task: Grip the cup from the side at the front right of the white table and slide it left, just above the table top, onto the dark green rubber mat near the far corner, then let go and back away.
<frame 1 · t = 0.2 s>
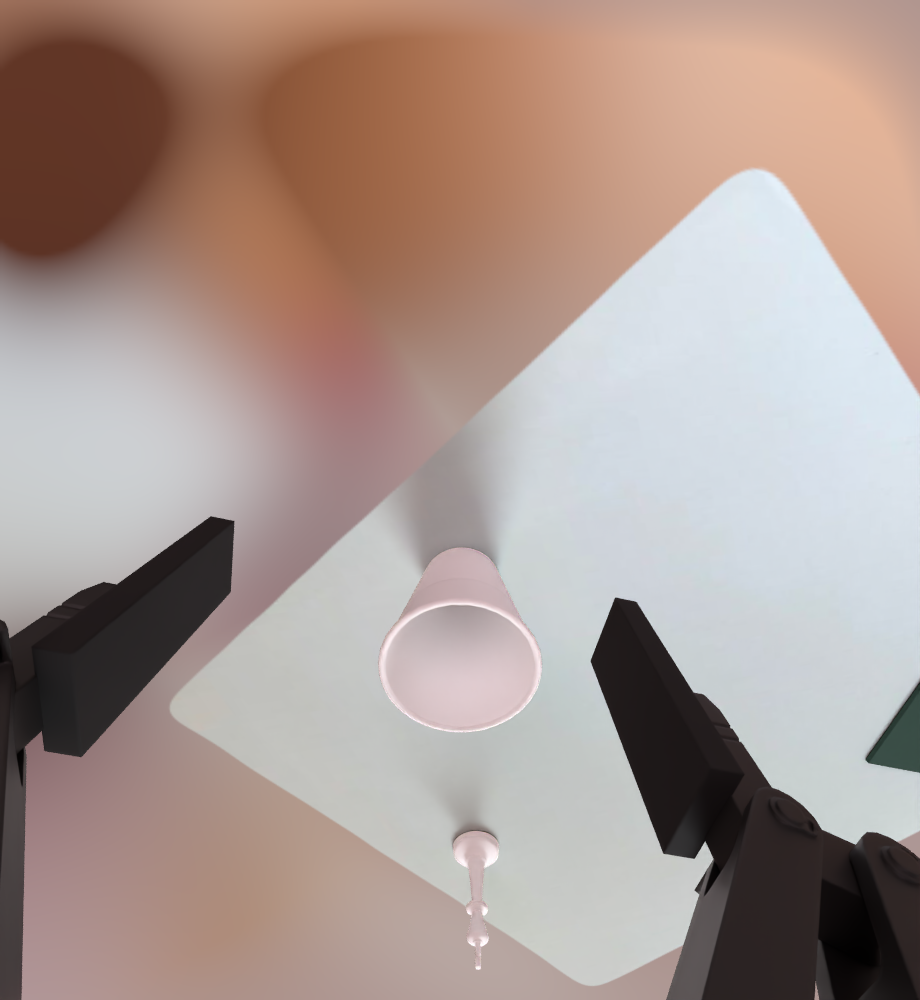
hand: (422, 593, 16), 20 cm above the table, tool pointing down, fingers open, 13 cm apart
cup: (461, 577, 38), on the table
chess piece: (476, 844, 49), on the table
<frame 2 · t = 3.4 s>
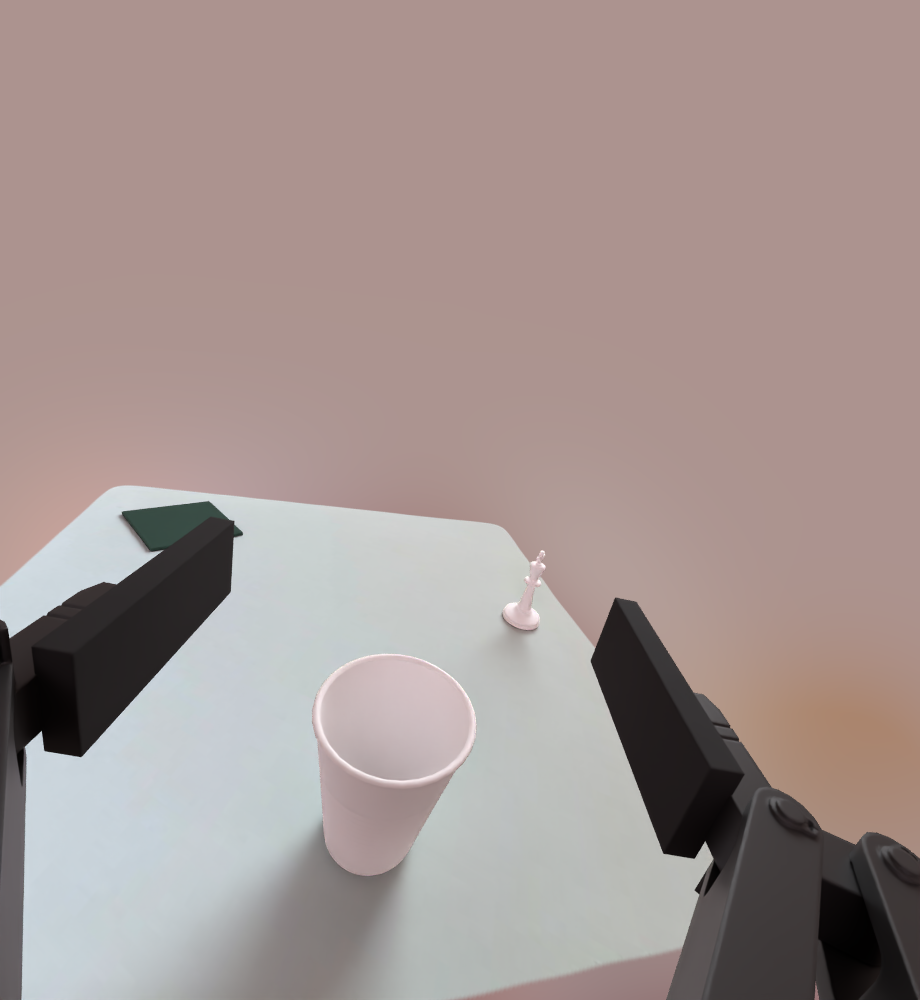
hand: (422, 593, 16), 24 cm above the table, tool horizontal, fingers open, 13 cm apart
cup: (368, 831, 32), on the table
chess piece: (520, 619, 60), on the table
mat: (183, 524, 62), on the table
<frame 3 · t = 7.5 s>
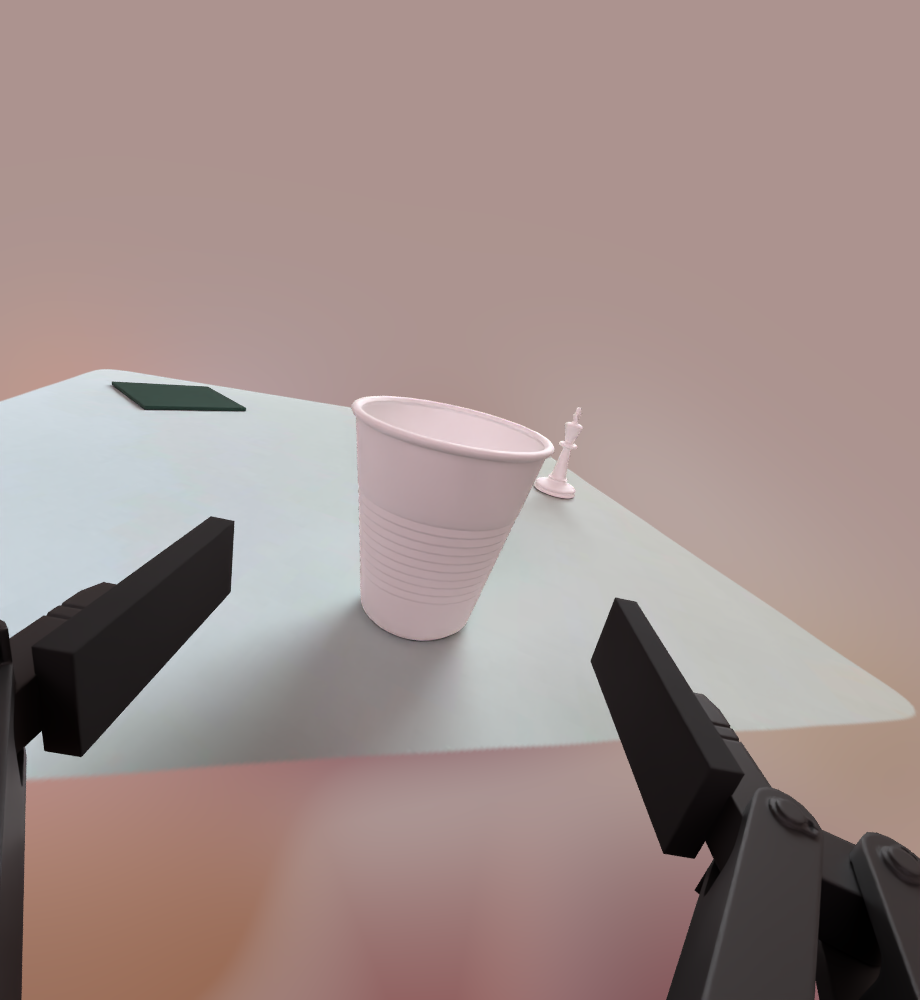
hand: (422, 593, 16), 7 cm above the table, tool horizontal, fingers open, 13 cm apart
cup: (414, 612, 26), on the table
chess piece: (553, 491, 55), on the table
mat: (180, 398, 57), on the table
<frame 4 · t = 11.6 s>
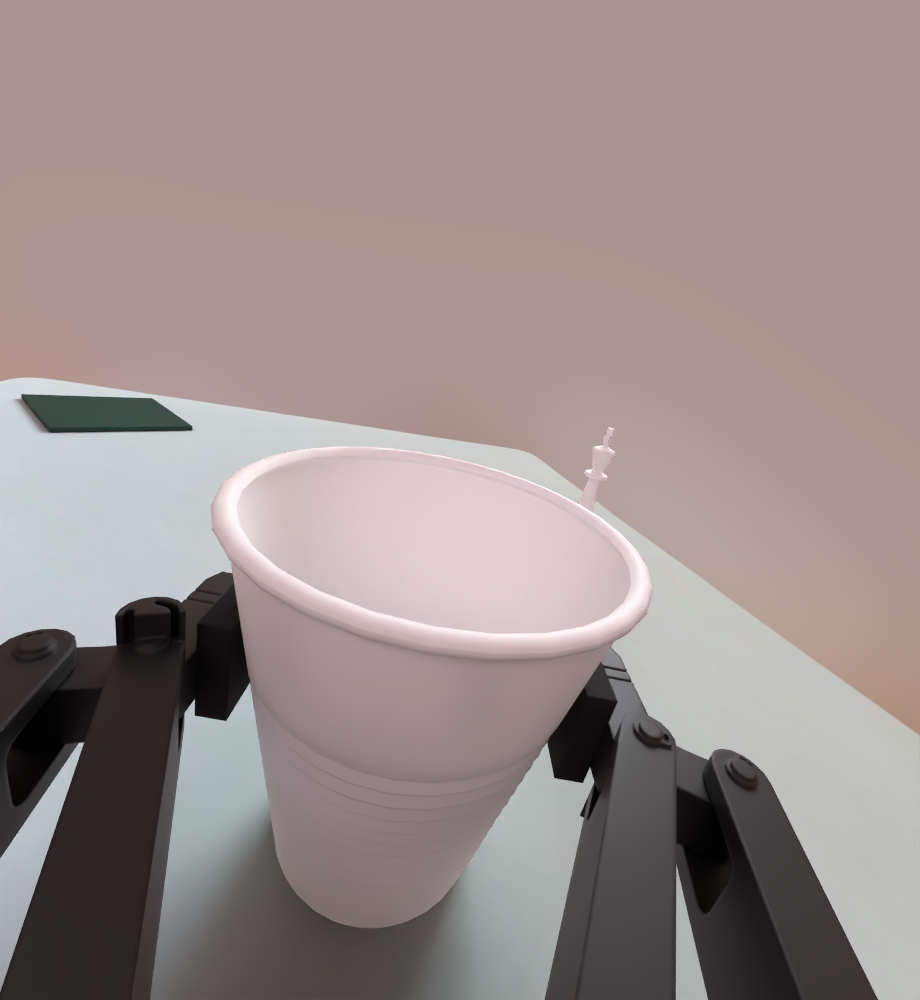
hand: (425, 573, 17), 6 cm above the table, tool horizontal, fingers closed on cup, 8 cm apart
cup: (374, 823, 15), on the table, touching gripper
chess piece: (576, 532, 44), on the table
mat: (109, 414, 45), on the table
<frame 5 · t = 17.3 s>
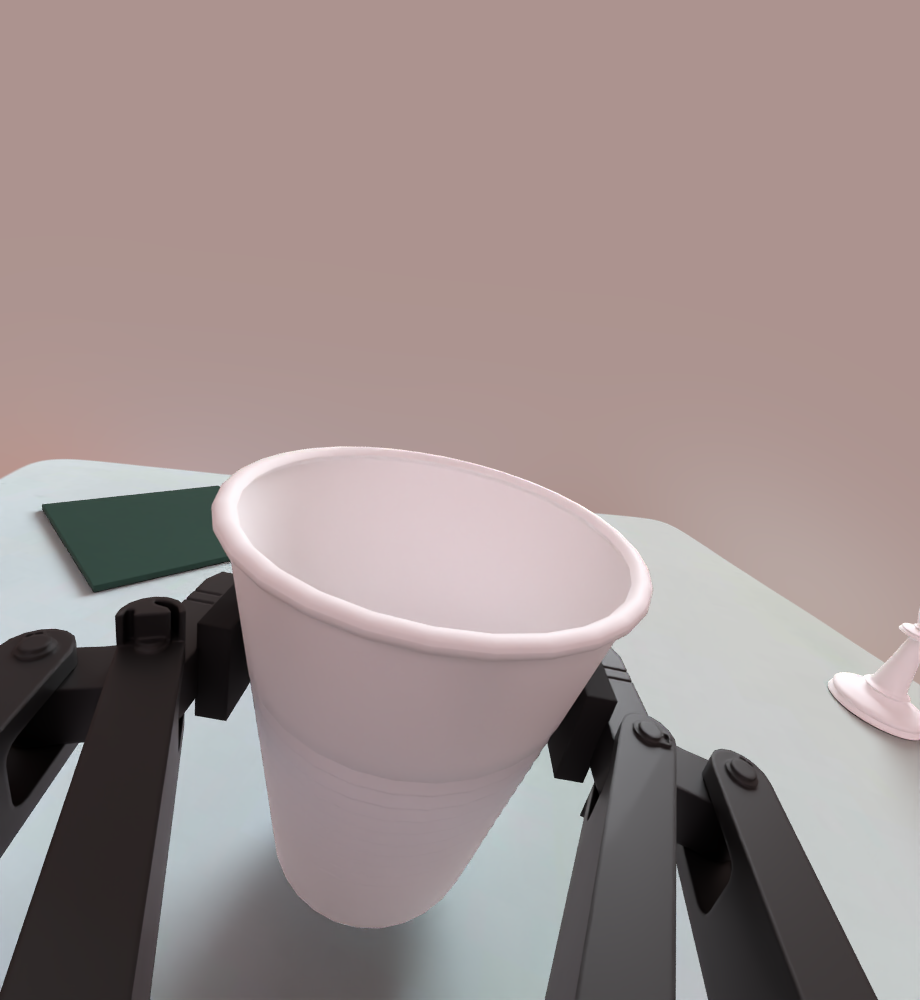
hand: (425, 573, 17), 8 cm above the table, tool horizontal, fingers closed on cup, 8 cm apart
cup: (375, 823, 15), point 1 cm above the table, touching gripper
chess piece: (871, 710, 29), on the table
mat: (170, 529, 31), on the table
when the fingers open (7 cm above the table, at t = 23.1 s): cup stays where it is, resting on mat.
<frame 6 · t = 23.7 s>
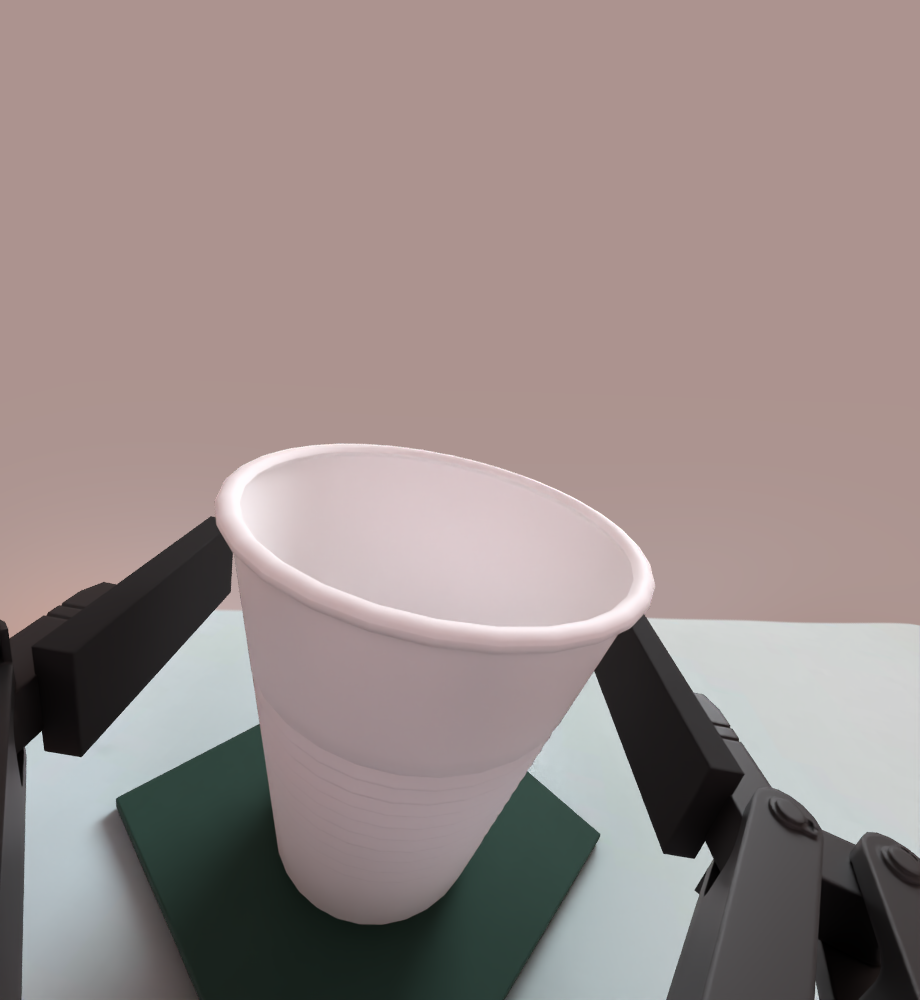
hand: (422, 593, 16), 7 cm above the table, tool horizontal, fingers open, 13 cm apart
cup: (376, 820, 15), resting on mat
mat: (374, 825, 15), on the table
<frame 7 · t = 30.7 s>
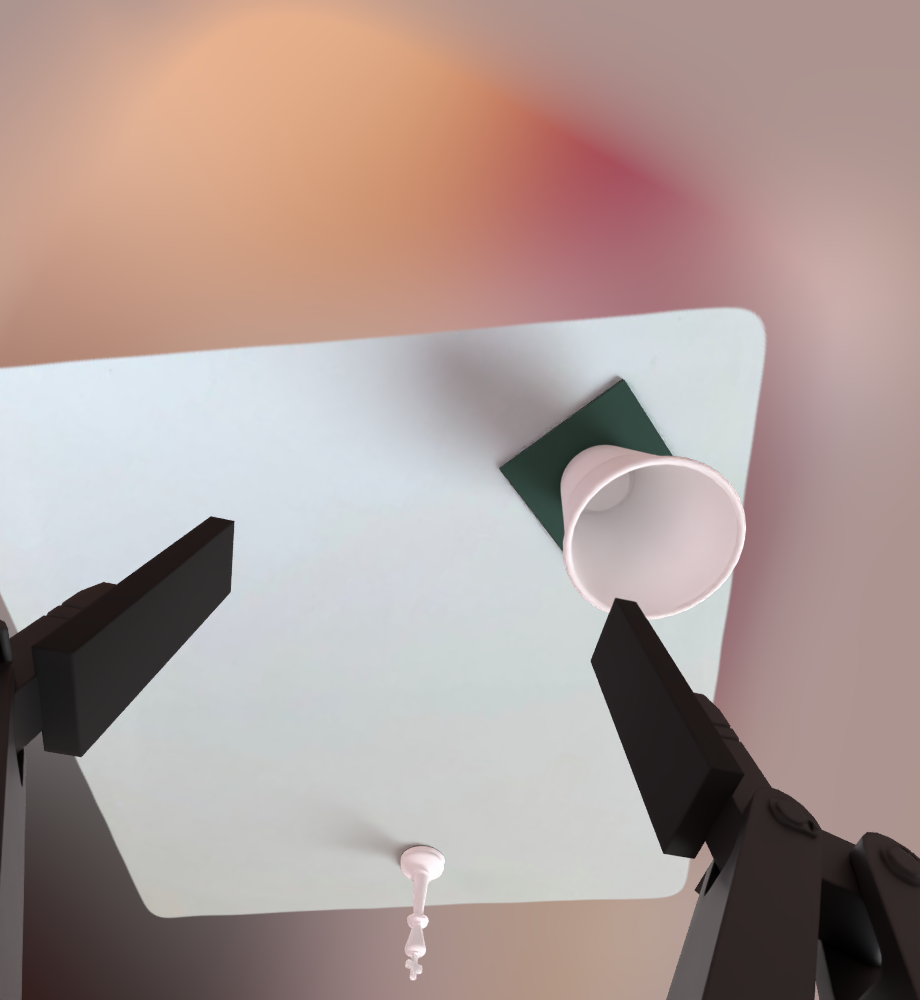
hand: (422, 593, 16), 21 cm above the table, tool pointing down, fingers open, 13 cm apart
cup: (598, 481, 36), resting on mat
chess piece: (422, 858, 52), on the table
mat: (597, 480, 36), on the table
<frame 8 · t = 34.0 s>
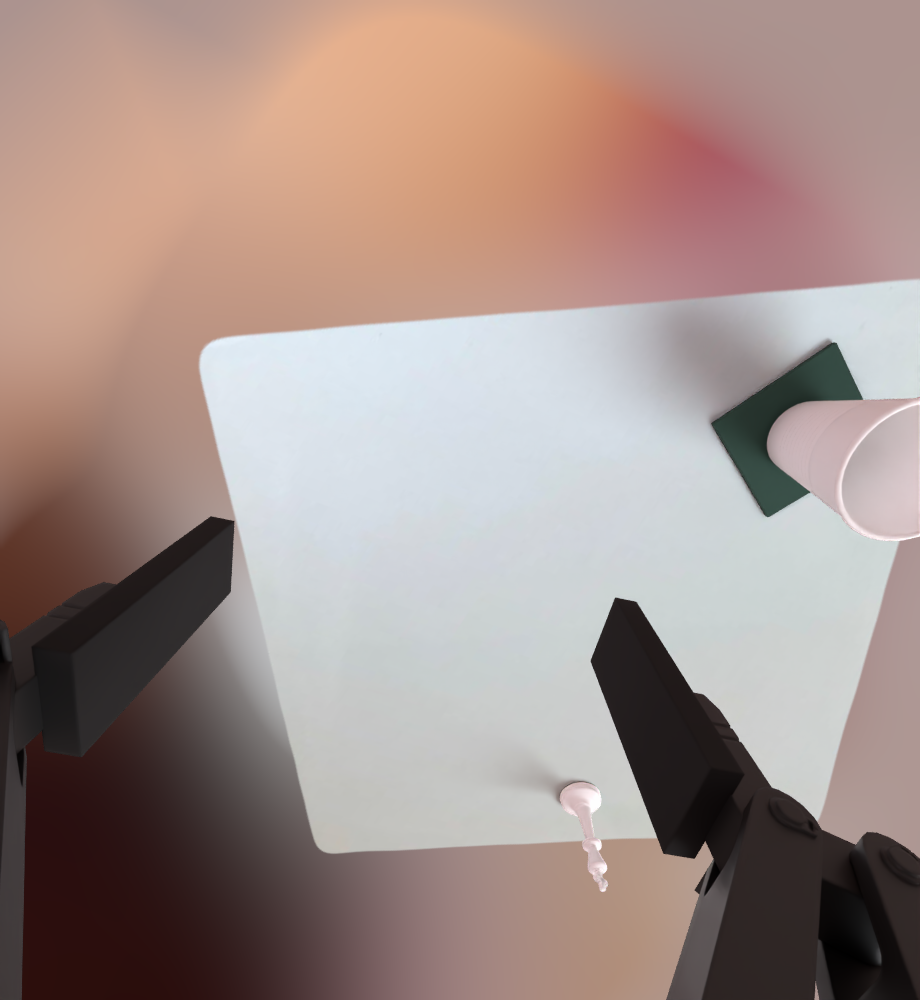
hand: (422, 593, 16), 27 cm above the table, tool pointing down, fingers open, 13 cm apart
cup: (798, 435, 40), resting on mat
chess piece: (579, 794, 56), on the table
mat: (796, 434, 40), on the table
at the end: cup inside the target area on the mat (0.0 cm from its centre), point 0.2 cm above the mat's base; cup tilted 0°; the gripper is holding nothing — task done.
